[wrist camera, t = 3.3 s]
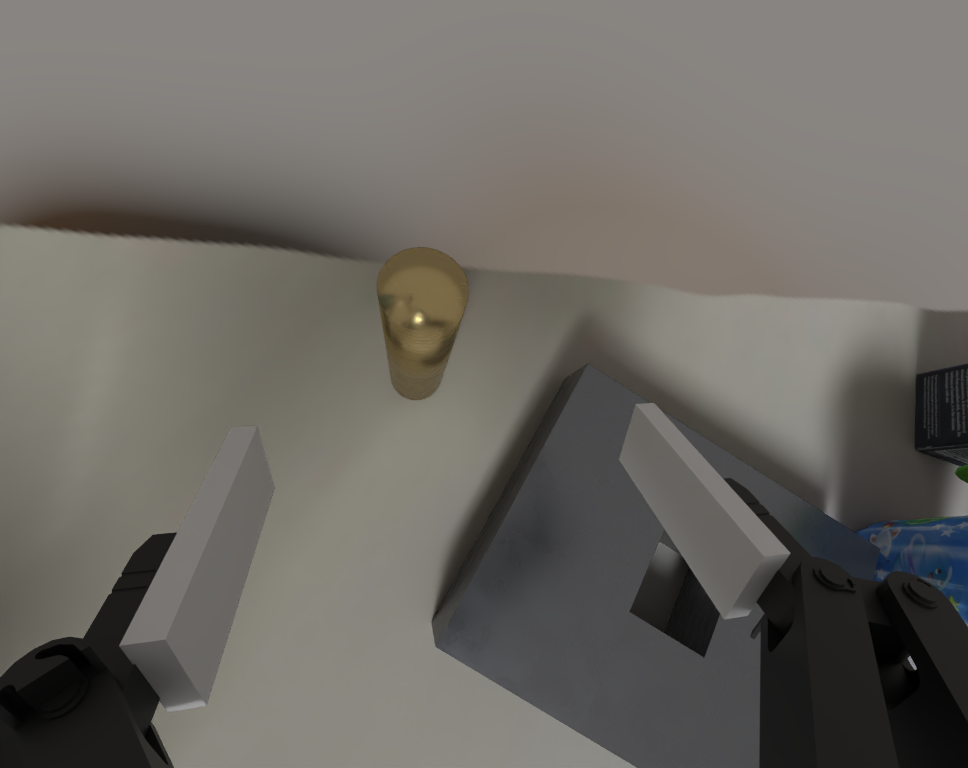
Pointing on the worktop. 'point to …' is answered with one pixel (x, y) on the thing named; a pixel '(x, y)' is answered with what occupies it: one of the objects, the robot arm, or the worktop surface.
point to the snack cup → (926, 551)
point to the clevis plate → (617, 594)
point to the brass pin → (420, 317)
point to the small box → (943, 414)
